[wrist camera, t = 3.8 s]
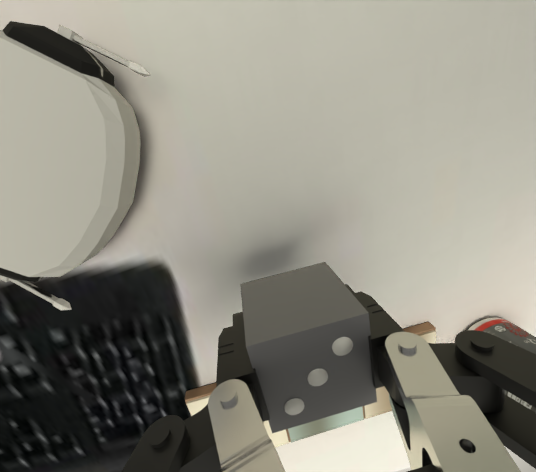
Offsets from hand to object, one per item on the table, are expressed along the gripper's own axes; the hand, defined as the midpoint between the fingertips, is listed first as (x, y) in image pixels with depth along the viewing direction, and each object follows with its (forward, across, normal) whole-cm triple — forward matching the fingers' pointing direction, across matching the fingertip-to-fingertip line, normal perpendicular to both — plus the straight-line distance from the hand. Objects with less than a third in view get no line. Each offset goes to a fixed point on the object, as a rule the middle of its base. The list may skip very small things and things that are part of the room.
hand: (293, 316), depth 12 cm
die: (+1, 0, 0) cm, 1 cm away
